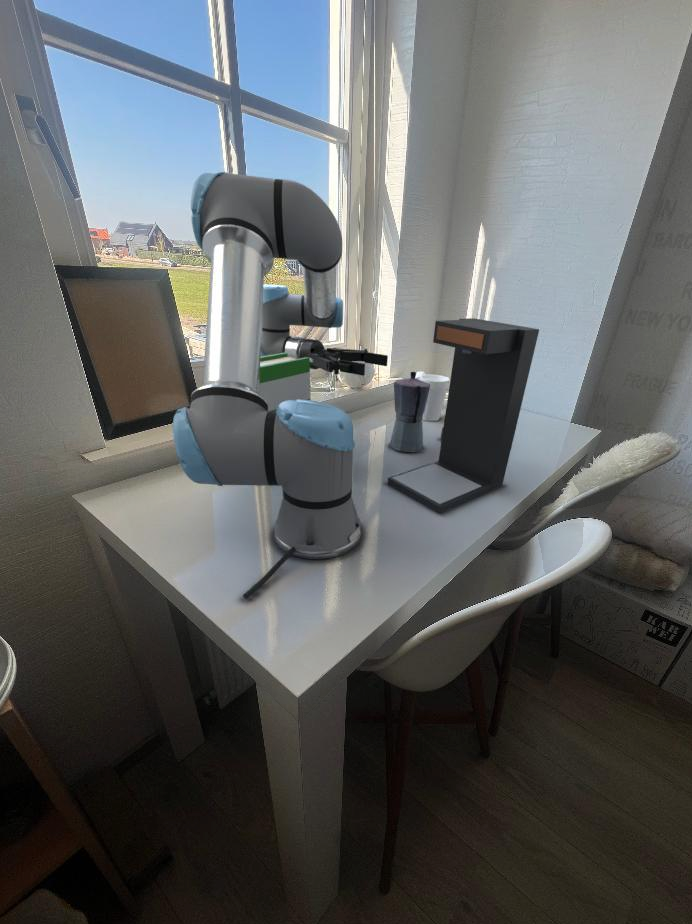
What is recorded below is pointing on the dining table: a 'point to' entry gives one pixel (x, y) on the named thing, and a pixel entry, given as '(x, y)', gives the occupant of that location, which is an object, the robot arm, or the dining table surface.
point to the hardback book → (284, 379)
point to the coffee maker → (475, 412)
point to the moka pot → (409, 413)
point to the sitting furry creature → (419, 375)
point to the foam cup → (435, 395)
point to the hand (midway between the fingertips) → (376, 365)
